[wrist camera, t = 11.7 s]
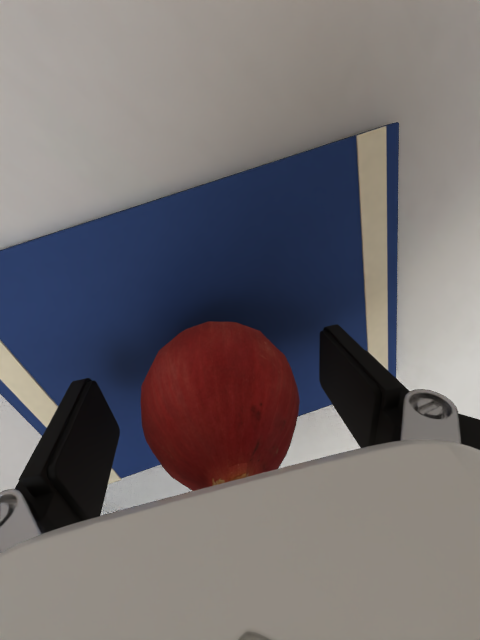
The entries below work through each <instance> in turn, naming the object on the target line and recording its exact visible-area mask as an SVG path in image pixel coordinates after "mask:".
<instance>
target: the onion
mask: <svg viewBox="0 0 480 640" xmlns="http://www.w3.org/2000/svg"><path fill="white" fill-rule="evenodd" d="M299 403H300V400H299V393H298V388H297V385H296V382H295V379H294V376H293V373H292V370H291V367H290V365H289V363H288V361H287V359H286V357H285V355H284V354H283V353H282V352H281V351H280V350H279V349H277V348H276V347H275V346H274V345H273V344H272V343H271V342H270V341H269V340H268V339H267V338H266V337H265V336H264V335H263V334H262V332H261V331H259V330H256V329H253V328H251V327H248V326H245V325H242V324H240V323H237V322H214V321H208V322H205V323H202V324H199V325H196V326H193V327H190V328H187V329H185V330H184V331H182V332H181V333H179V334H178V335H177V336H176V337H174V338H173V339H172V340H171V341H170V342H169V343H167V344H166V345H165V346H164V347H163V348H161V349H160V350H159V351H158V353H157V355H156V357H155V359H154V361H153V363H152V365H151V367H150V369H149V371H148V373H147V375H146V377H145V380H144V382H143V384H142V386H141V419H142V428H143V432H144V436H145V440H146V441H147V443H148V445H149V447H150V449H151V450H152V452H153V453H154V455H155V456H156V458H157V459H158V461H159V462H160V463H161V465H162V466H163V468H164V469H165V470H166V471H167V472H168V473H169V474H170V476H171V477H173V478H174V479H176V480H177V481H178V482H180V483H181V484H183V485H185V486H186V487H188V488H189V489H191V490H193V491H195V490H199V489H203V488H207V487H210V486H214V485H218V484H222V483H226V482H229V481H233V480H237V479H241V478H245V477H249V476H253V475H256V474H260V473H264V472H268V471H272V470H276V469H278V468H279V466H280V464H281V463H282V461H283V459H284V458H285V456H286V454H287V451H288V449H289V446H290V443H291V440H292V436H293V433H294V430H295V426H296V421H297V417H298V412H299Z"/></svg>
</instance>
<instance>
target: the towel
mask: <svg viewBox="0 0 480 640" xmlns="http://www.w3.org/2000/svg"><path fill="white" fill-rule="evenodd" d="M398 156H399V123H398V122H396V123H392V124H388V125H385V126H382V127H379V128H376V129H373V130H370V131H367V132H363V133H360V134H357V135H354V136H351V137H348V138H345V139H342V140H339V141H336V142H333V143H330V144H326V145H323V146H320V147H317V148H314V149H311V150H308V151H305V152H302V153H299V154H296V155H293V156H289V157H286V158H283V159H280V160H277V161H274V162H271V163H268V164H265V165H262V166H259V167H256V168H252V169H249V170H246V171H243V172H240V173H237V174H234V175H231V176H228V177H225V178H222V179H219V180H215V181H212V182H209V183H206V184H203V185H200V186H197V187H194V188H191V189H188V190H185V191H182V192H178V193H175V194H172V195H169V196H166V197H163V198H160V199H157V200H154V201H151V202H148V203H145V204H141V205H138V206H135V207H132V208H129V209H126V210H123V211H120V212H117V213H114V214H111V215H108V216H104V217H101V218H98V219H95V220H92V221H89V222H86V223H83V224H80V225H77V226H74V227H70V228H67V229H64V230H61V231H58V232H55V233H52V234H49V235H46V236H43V237H40V238H37V239H33V240H30V241H27V242H24V243H21V244H18V245H15V246H12V247H9V248H6V249H3V250H0V394H1V395H2V396H3V397H4V398H5V399H6V400H7V401H8V402H9V403H10V404H11V405H12V406H13V407H14V408H15V409H16V410H17V411H18V412H19V413H20V414H21V415H22V416H23V417H24V418H25V419H26V420H27V421H28V422H29V423H30V424H31V425H32V426H33V427H34V428H35V429H36V430H37V431H38V432H39V433H40V434H41V435H42V436H43V434H44V432H45V430H46V428H47V426H48V425H49V423H50V421H51V419H52V417H53V415H54V414H55V412H56V410H57V408H58V406H59V404H60V402H61V401H62V399H63V397H64V395H65V393H66V391H67V390H68V388H69V386H70V384H71V383H72V382H73V381H76V380H81V379H85V378H90V379H91V380H92V381H93V380H94V381H96V382H97V384H98V386H99V388H100V390H101V392H102V394H103V396H104V398H105V400H106V402H107V404H108V405H109V407H110V409H111V411H112V413H113V415H114V417H115V419H116V421H117V423H118V425H119V428H120V436H119V440H118V445H117V449H116V453H115V457H114V461H113V465H112V469H111V473H110V477H109V481H108V484H111V483H113V482H116V481H119V480H121V478H123V477H126V476H129V475H132V474H135V473H138V472H141V471H143V470H146V469H149V468H152V467H155V466H158V465H161V463H160V462H159V461H158V459H157V458H156V456H155V455H154V453H153V452H152V450H151V449H150V447H149V445H148V443H147V441H146V440H145V436H144V432H143V428H142V419H141V386H142V384H143V382H144V380H145V377H146V375H147V373H148V371H149V369H150V367H151V365H152V363H153V361H154V359H155V357H156V355H157V353H158V351H159V350H160V349H161V348H163V347H164V346H165V345H166V344H167V343H169V342H170V341H171V340H172V339H173V338H174V337H176V336H177V335H178V334H179V333H181V332H182V331H184V330H185V329H187V328H190V327H193V326H196V325H199V324H202V323H205V322H208V321H214V322H237V323H240V324H242V325H245V326H248V327H251V328H253V329H256V330H259V331H261V332H262V334H263V335H264V336H265V337H266V338H267V339H268V340H269V341H270V342H271V343H272V344H273V345H274V346H275V347H276V348H277V349H279V350H280V351H281V352H282V353H283V354H284V355H285V357H286V359H287V361H288V363H289V365H290V367H291V370H292V373H293V376H294V379H295V382H296V385H297V388H298V393H299V400H300V403H299V412H298V416H300V415H303V414H306V413H309V412H312V411H315V410H318V409H320V408H323V407H326V406H329V405H332V403H331V401H330V399H329V398H328V396H327V395H326V393H325V392H324V390H323V389H322V387H321V385H320V381H319V347H320V332H321V331H323V328H324V327H327V326H331V325H336V324H338V325H339V326H340V327H341V328H342V329H344V330H345V331H346V332H347V333H348V334H349V335H350V336H351V337H352V338H353V339H354V340H355V341H356V342H357V343H358V344H359V345H360V346H361V347H362V348H363V349H364V350H366V351H368V352H369V353H370V354H371V355H372V356H373V357H374V358H375V359H376V360H377V361H378V362H379V363H380V364H382V365H383V366H384V367H385V368H386V369H387V370H388V371H389V372H390V373H391V374H392V375H393V376H394V377H395V378H396V329H397V243H398Z"/></svg>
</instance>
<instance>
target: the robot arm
mask: <svg viewBox="0 0 480 640" xmlns="http://www.w3.org/2000/svg"><path fill="white" fill-rule="evenodd" d="M319 381H320V385H321V387H322V389H323V390H324V392H325V393H326V395H327V396H328V398H329V399H330V401H331V403H332V404H333V406H334V407H335V409H336V410H337V412H338V413H339V415H340V416H341V418H342V420H343V421H344V423H345V424H346V426H347V427H348V429H349V430H350V432H351V433H352V435H353V437H354V438H355V440H356V441H357V443H358V444H359V446H360V447H361V448H360V449H356V450H352V451H347V452H343V453H339V454H335V455H331V456H327V457H323V458H319V459H315V460H311V461H307V462H303V463H299V464H295V465H291V466H287V467H284V468H280V469H276V470H272V471H268V472H264V473H260V474H256V475H253V476H249V477H245V478H241V479H237V480H233V481H229V482H226V483H222V484H218V485H214V486H210V487H207V488H203V489H199V490H195V491H191V492H188V493H184V494H180V495H176V496H173V497H169V498H165V499H161V500H158V501H154V502H150V503H146V504H143V505H139V506H135V507H131V508H128V509H124V510H120V511H116V512H113V513H109V514H106V515H102V516H100V514H101V510H102V506H103V502H104V497H105V493H106V489H107V485H108V481H109V477H110V473H111V469H112V465H113V461H114V457H115V453H116V449H117V445H118V440H119V436H120V428H119V425H118V423H117V421H116V419H115V417H114V415H113V413H112V411H111V409H110V407H109V405H108V404H107V402H106V400H105V398H104V396H103V394H102V392H101V390H100V388H99V386H98V384H97V382H96V381H94V380H93V381H92V380H91V379H90V378H85V379H81V380H76V381H73V382H72V383H71V384H70V386H69V388H68V390H67V391H66V393H65V395H64V397H63V399H62V401H61V402H60V404H59V406H58V408H57V410H56V412H55V414H54V415H53V417H52V419H51V421H50V423H49V425H48V426H47V428H46V430H45V432H44V434H43V436H42V438H41V439H40V441H39V443H38V445H37V447H36V449H35V451H34V452H33V454H32V456H31V458H30V460H29V462H28V463H27V465H26V467H25V469H24V471H23V473H22V475H21V476H20V478H19V482H18V484H17V486H16V488H15V489H9V490H4V491H2V492H0V640H480V420H479V419H475V418H472V417H468V416H465V415H462V414H458V411H457V408H456V406H455V405H454V403H453V402H452V401H451V400H449V399H448V398H447V397H445V396H443V395H441V394H439V393H437V392H434V391H431V390H425V389H417V390H412V391H409V390H408V389H406V388H405V387H404V386H403V385H402V384H401V383H400V382H399V381H398V380H397V379H396V378H395V377H394V376H393V375H392V374H391V373H390V372H389V371H388V370H387V369H386V368H385V367H384V366H383V365H382V364H380V363H379V362H378V361H377V360H376V359H375V358H374V357H373V356H372V355H371V354H370V353H369V352H368V351H366V350H364V349H363V348H362V347H361V346H360V345H359V344H358V343H357V342H356V341H355V340H354V339H353V338H352V337H351V336H350V335H349V334H348V333H347V332H346V331H345V330H344V329H342V328H341V327H340V326H339V325H338V324H336V325H331V326H327V327H324V328H323V331H321V332H320V347H319Z"/></svg>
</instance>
